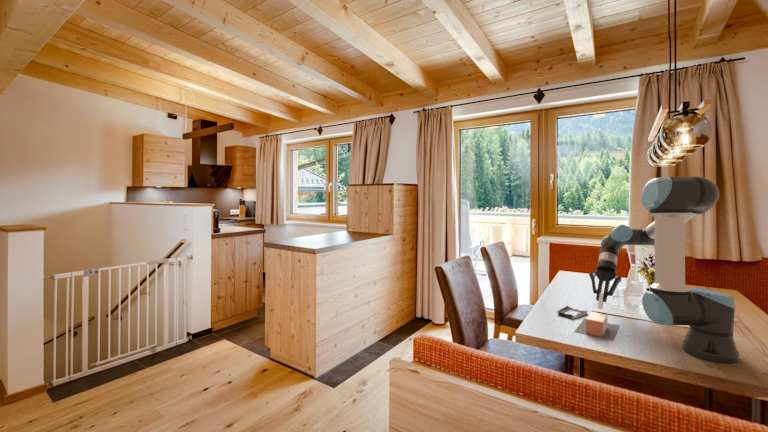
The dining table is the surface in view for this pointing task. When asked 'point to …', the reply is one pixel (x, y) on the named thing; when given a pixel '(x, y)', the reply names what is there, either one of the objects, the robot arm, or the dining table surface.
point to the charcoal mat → (608, 334)
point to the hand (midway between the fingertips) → (599, 307)
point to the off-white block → (596, 324)
